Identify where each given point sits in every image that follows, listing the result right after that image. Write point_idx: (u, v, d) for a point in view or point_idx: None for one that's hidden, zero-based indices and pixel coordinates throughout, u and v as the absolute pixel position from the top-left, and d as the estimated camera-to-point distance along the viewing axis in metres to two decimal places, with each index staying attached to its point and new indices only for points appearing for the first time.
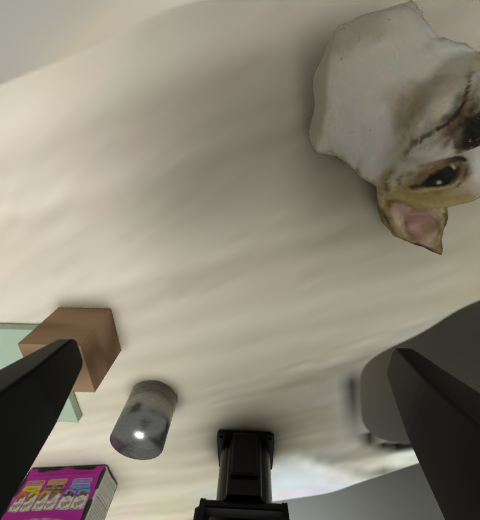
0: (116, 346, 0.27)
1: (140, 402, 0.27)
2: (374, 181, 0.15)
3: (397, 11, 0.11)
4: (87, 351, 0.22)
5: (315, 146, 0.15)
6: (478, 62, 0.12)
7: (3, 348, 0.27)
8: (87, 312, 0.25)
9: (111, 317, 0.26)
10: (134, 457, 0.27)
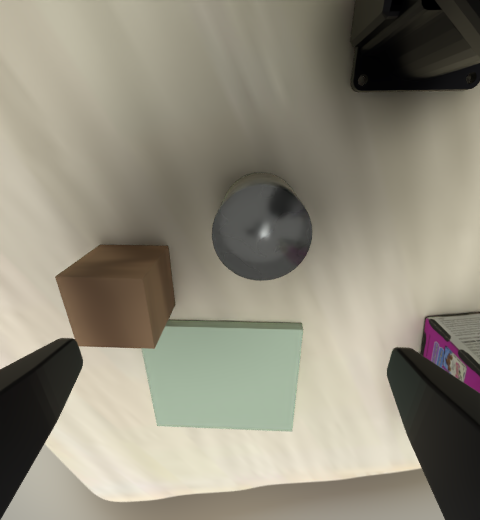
0: (151, 248, 0.19)
1: None
2: None
3: None
4: (79, 272, 0.16)
5: None
6: None
7: (173, 371, 0.24)
8: None
9: (109, 246, 0.20)
10: (304, 247, 0.14)
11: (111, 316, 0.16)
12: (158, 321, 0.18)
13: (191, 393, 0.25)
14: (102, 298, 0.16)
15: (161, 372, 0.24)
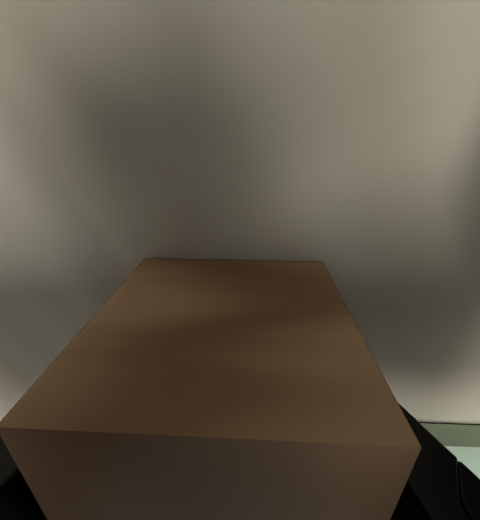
0: (287, 270, 0.07)
1: None
2: None
3: None
4: (106, 391, 0.04)
5: None
6: None
7: None
8: None
9: (170, 263, 0.08)
10: None
11: None
12: None
13: None
14: (200, 501, 0.04)
15: None
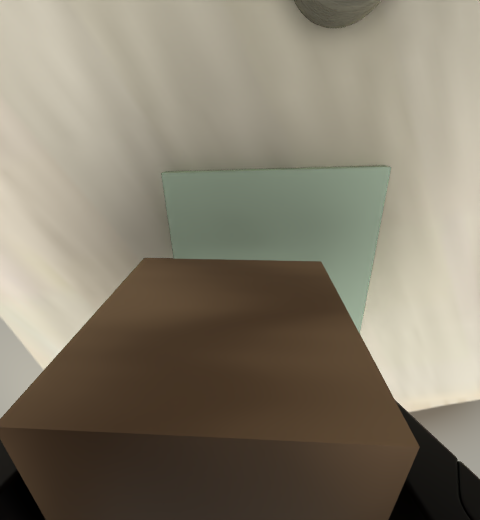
0: (287, 270, 0.07)
1: None
2: None
3: None
4: (105, 391, 0.04)
5: None
6: None
7: (208, 249, 0.18)
8: None
9: (170, 263, 0.08)
10: None
11: None
12: None
13: None
14: (198, 501, 0.04)
15: (192, 251, 0.18)
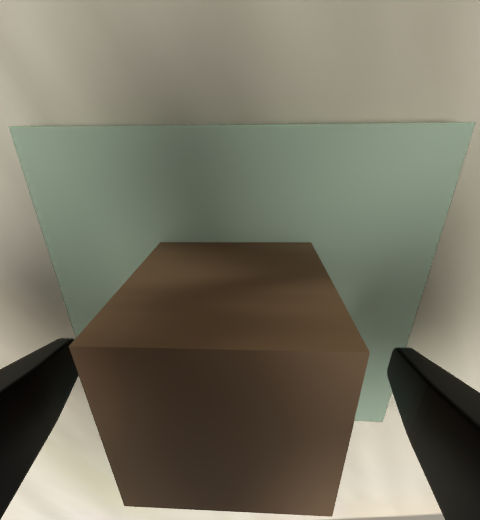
0: (281, 249, 0.08)
1: None
2: None
3: None
4: (143, 326, 0.05)
5: None
6: None
7: (119, 275, 0.10)
8: None
9: (182, 245, 0.09)
10: None
11: (230, 449, 0.06)
12: None
13: None
14: (214, 407, 0.05)
15: (91, 279, 0.10)
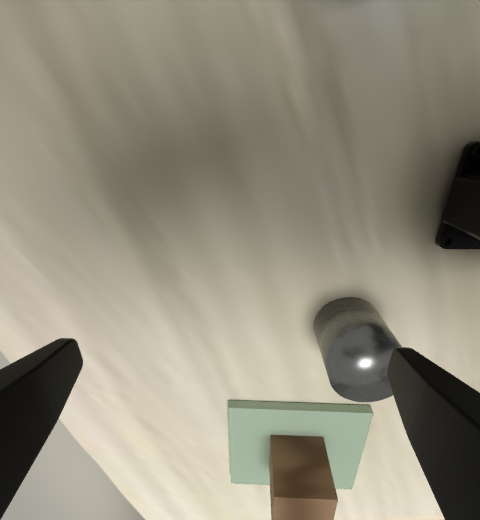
0: (313, 442, 0.26)
1: (321, 348, 0.20)
2: None
3: None
4: (287, 489, 0.22)
5: None
6: None
7: (253, 442, 0.27)
8: (270, 454, 0.26)
9: (279, 438, 0.26)
10: None
11: (305, 516, 0.23)
12: None
13: (266, 459, 0.28)
14: (303, 507, 0.22)
15: (242, 443, 0.27)
